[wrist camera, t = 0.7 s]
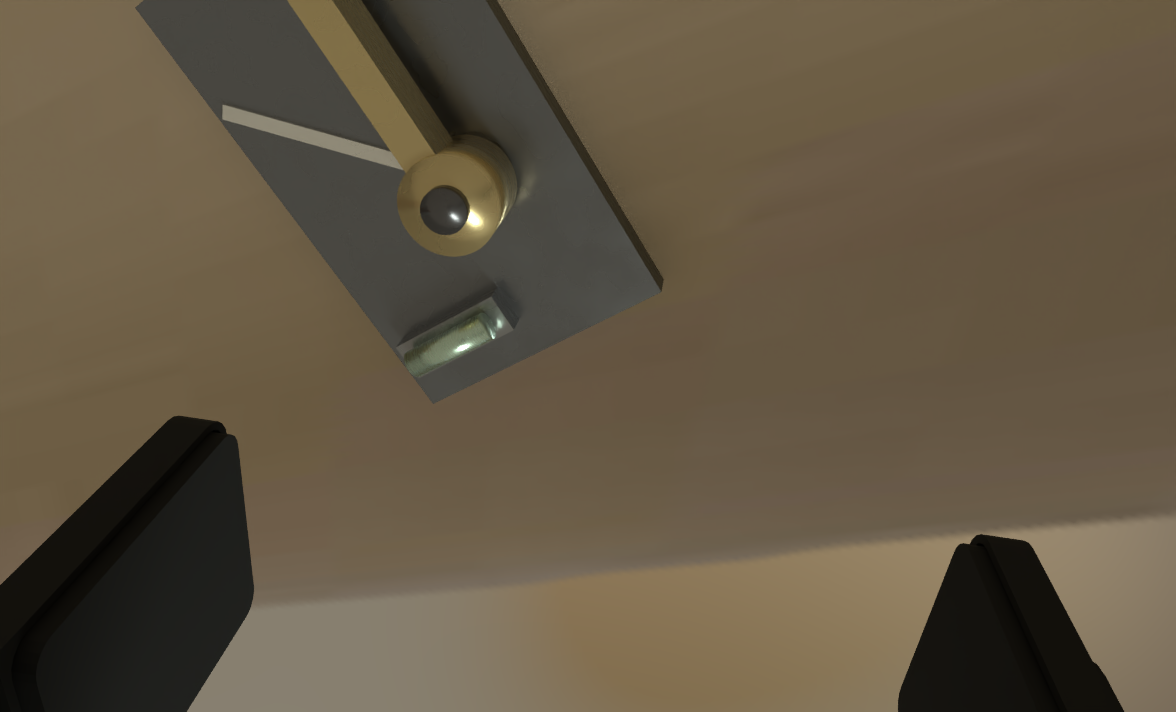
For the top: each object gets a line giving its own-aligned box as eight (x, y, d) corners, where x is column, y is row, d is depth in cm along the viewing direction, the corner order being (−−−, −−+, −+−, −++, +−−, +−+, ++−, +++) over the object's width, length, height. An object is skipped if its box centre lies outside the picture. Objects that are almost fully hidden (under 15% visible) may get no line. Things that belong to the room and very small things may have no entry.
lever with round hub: (330, -122, 34) (281, -124, 31) (535, 200, 40) (514, 232, 36) (253, -59, 36) (197, -53, 32) (459, 243, 41) (432, 278, 37)
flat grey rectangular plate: (385, -187, 35) (345, -196, 31) (663, 279, 42) (657, 315, 39) (154, 3, 40) (97, 14, 36) (441, 389, 47) (417, 430, 44)
